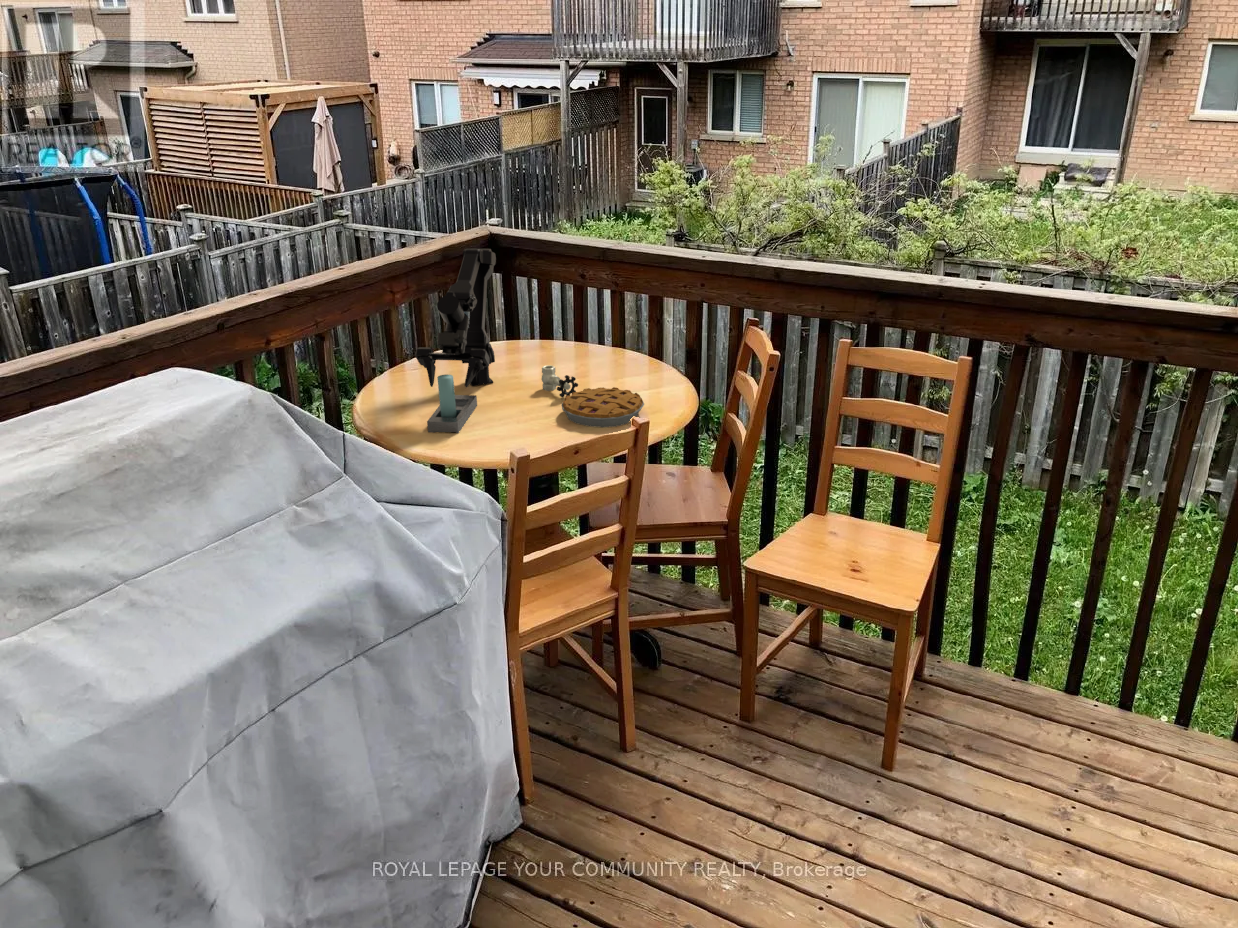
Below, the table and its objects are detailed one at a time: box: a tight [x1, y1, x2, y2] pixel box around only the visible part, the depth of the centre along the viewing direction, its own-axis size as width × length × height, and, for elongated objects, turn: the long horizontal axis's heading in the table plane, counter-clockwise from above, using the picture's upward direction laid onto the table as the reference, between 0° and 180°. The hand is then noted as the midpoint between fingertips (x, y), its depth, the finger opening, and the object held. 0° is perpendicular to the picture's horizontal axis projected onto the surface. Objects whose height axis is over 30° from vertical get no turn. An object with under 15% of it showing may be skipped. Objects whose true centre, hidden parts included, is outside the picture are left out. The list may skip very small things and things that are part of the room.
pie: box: [560, 386, 645, 428], centre depth 265 cm, size 22×22×5 cm
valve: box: [541, 364, 579, 398], centre depth 281 cm, size 7×7×12 cm
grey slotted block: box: [426, 394, 478, 434], centre depth 264 cm, size 20×8×3 cm, turn 174°
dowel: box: [437, 374, 457, 418], centre depth 258 cm, size 4×4×13 cm
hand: (448, 386), depth 259 cm, fingers open, 9 cm apart
